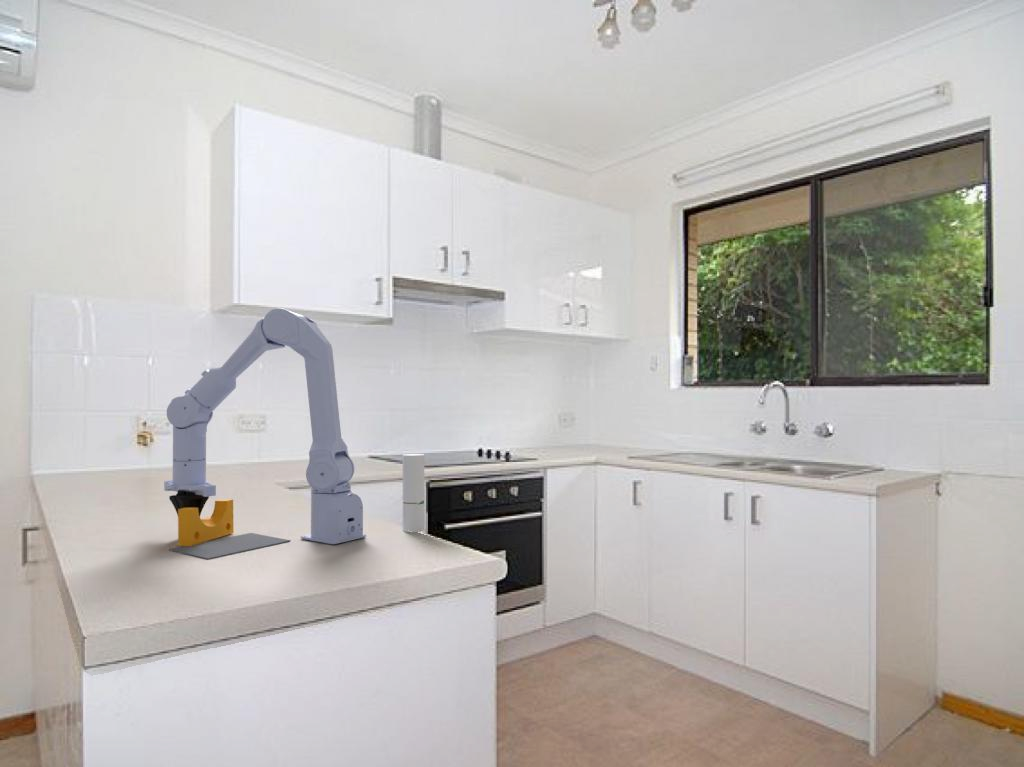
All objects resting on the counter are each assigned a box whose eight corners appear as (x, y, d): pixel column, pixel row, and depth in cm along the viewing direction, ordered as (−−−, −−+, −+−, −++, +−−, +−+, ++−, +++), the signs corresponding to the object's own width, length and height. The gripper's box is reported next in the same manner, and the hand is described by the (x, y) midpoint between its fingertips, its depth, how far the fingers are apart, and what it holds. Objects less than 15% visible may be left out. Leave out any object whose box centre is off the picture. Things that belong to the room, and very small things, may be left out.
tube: (406, 533, 126) (406, 455, 126) (399, 529, 129) (399, 454, 130) (427, 531, 128) (427, 454, 128) (420, 527, 131) (420, 453, 132)
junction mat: (290, 541, 119) (290, 540, 119) (207, 559, 105) (207, 558, 105) (251, 533, 125) (251, 532, 125) (168, 550, 112) (168, 548, 112)
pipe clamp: (213, 532, 127) (213, 499, 127) (233, 532, 126) (233, 499, 126) (169, 545, 115) (169, 509, 115) (191, 546, 114) (190, 509, 114)
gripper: (148, 459, 124) (148, 530, 124) (190, 463, 116) (189, 539, 116) (184, 456, 130) (184, 524, 130) (226, 460, 122) (225, 532, 122)
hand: (189, 531), depth 123 cm, fingers closed
